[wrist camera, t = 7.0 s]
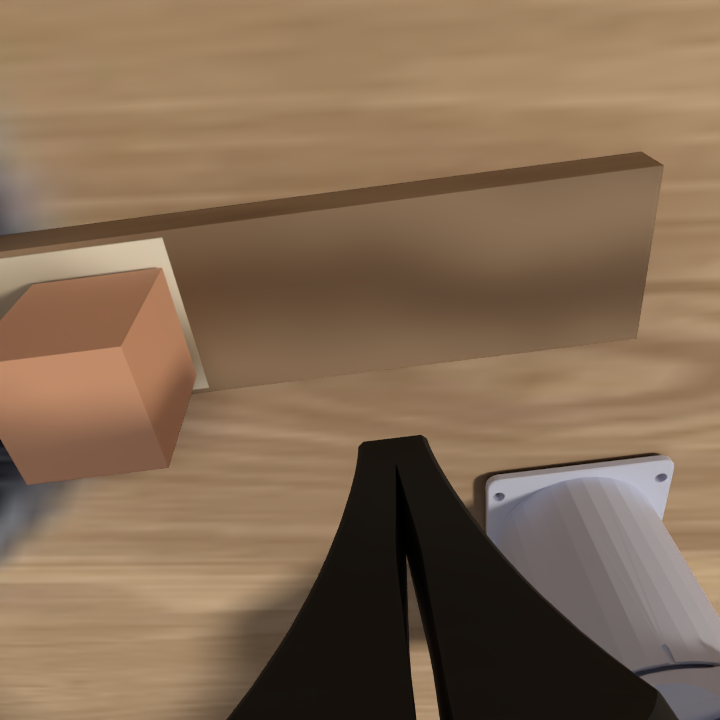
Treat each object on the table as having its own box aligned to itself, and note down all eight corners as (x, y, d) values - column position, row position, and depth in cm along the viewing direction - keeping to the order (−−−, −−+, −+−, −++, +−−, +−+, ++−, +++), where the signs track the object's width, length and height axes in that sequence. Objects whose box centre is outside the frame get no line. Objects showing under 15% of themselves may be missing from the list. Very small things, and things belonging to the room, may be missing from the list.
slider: (196, 375, 21) (168, 467, 17) (80, 390, 21) (27, 484, 17) (162, 267, 18) (120, 346, 15) (32, 284, 19) (-42, 367, 15)
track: (619, 317, 22) (636, 339, 21) (32, 390, 23) (15, 416, 22) (641, 151, 19) (664, 165, 18) (-44, 241, 20) (-70, 261, 18)
